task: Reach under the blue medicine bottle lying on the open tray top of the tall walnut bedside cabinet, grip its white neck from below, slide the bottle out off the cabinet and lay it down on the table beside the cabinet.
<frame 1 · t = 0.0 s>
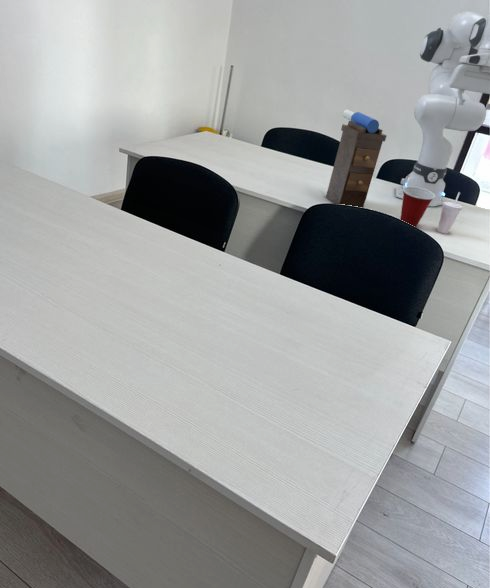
hand: (474, 107, 192), 39 cm above the table, tool pointing down, fingers open, 8 cm apart
bedside cabinet: (344, 202, 214), on the table
smoothie: (442, 232, 202), on the table
plastic cup: (407, 225, 202), on the table
bottle: (362, 129, 202), point 26 cm above the table, touching bedside cabinet
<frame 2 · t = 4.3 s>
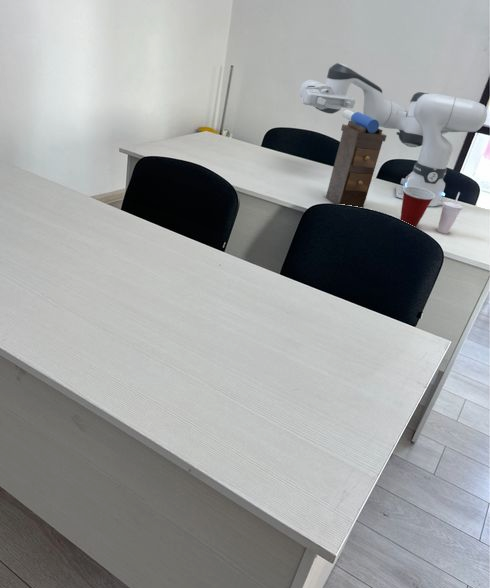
hand: (337, 104, 218), 30 cm above the table, tool horizontal, fingers open, 8 cm apart
nothing on the table moved.
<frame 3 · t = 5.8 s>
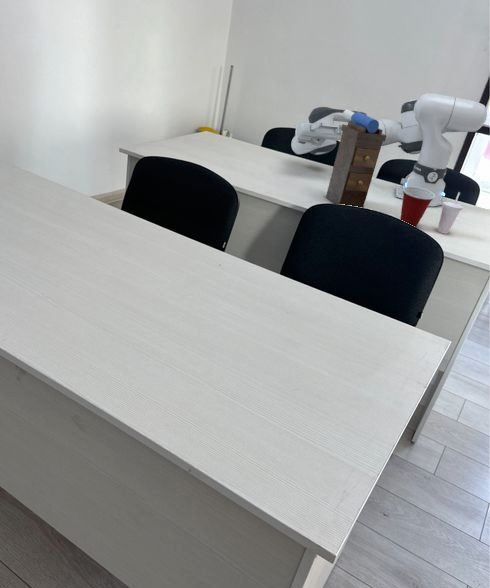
hand: (331, 125, 222), 22 cm above the table, tool pointing upward, fingers open, 8 cm apart
nothing on the table moved.
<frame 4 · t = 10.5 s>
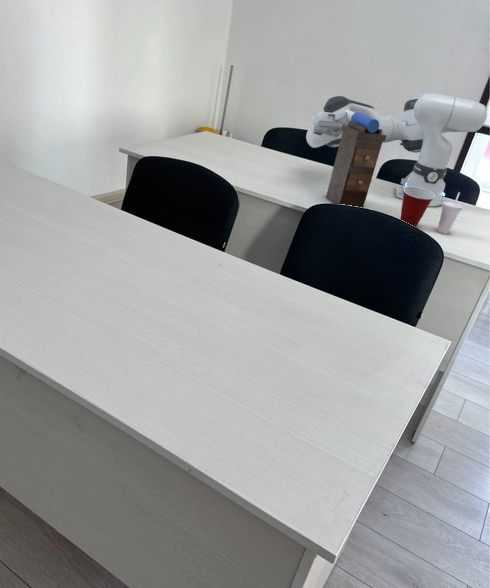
hand: (350, 114, 209), 29 cm above the table, tool pointing upward, fingers closed on bottle, 3 cm apart
bottle: (363, 128, 201), point 26 cm above the table, touching gripper
everything else where it was.
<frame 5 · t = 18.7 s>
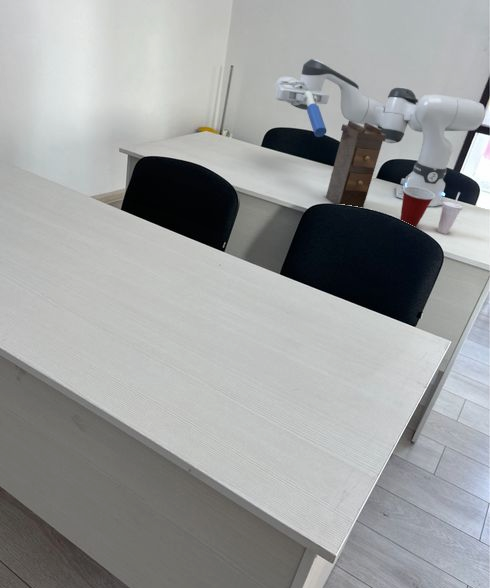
hand: (310, 99, 217), 30 cm above the table, tool horizontal, fingers closed on bottle, 3 cm apart
bottle: (314, 125, 215), point 22 cm above the table, tilted 29°, touching gripper
everything else where it was.
when the fingers open (11 cm above the table, at t = 24.2 s): bottle drops 3 cm, on the table.
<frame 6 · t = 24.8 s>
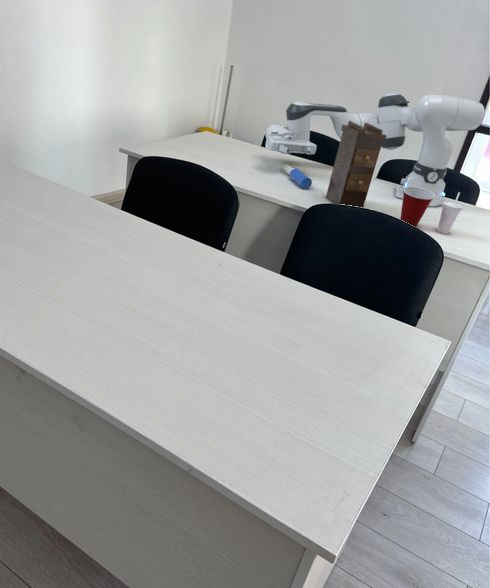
hand: (298, 151, 227), 11 cm above the table, tool horizontal, fingers open, 8 cm apart
bottle: (299, 184, 227), on the table
everything else where it was.
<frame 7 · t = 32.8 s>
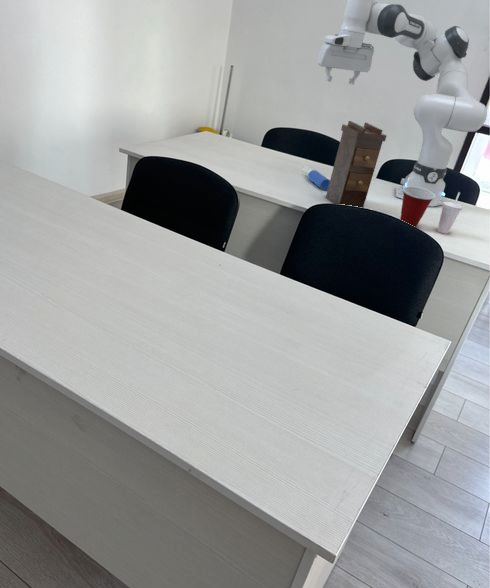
hand: (339, 82, 215), 37 cm above the table, tool pointing down, fingers open, 8 cm apart
bottle: (323, 175, 228), point 4 cm above the table, tilted 145°
everything else where it was.
at the end: the gripper is holding nothing; bottle inside the target area (10.7 cm from its centre), point 3.9 cm above the table; bottle touching table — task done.
